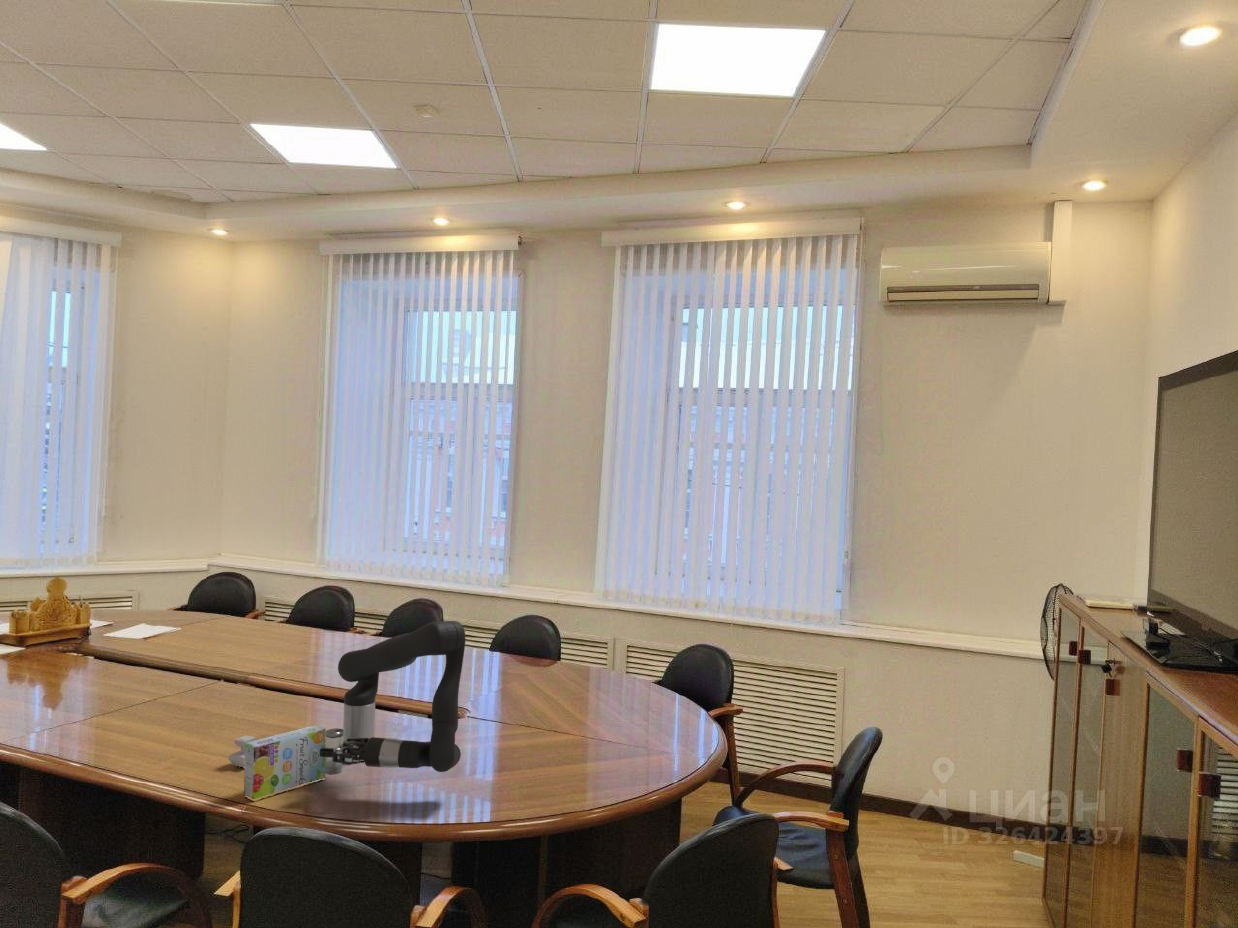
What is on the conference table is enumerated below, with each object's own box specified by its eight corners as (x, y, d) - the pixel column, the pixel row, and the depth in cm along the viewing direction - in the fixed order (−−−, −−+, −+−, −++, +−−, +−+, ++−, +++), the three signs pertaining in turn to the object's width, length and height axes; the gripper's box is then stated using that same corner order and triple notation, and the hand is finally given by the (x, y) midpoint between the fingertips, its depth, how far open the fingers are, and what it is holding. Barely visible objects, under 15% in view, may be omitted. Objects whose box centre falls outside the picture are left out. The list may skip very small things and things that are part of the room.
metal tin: (324, 768, 225) (326, 728, 225) (342, 767, 226) (343, 727, 226) (323, 775, 221) (325, 734, 220) (341, 773, 222) (343, 733, 222)
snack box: (315, 775, 238) (316, 723, 238) (325, 780, 234) (327, 728, 234) (242, 797, 222) (244, 741, 222) (252, 803, 218) (254, 746, 218)
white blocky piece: (265, 764, 245) (266, 736, 244) (246, 772, 238) (247, 743, 238) (243, 759, 248) (244, 731, 248) (224, 766, 242) (225, 738, 242)
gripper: (394, 729, 230) (335, 726, 231) (376, 748, 215) (313, 744, 216) (393, 756, 230) (334, 752, 231) (375, 776, 215) (312, 772, 216)
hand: (324, 748), depth 223 cm, fingers closed on metal tin, 4 cm apart
